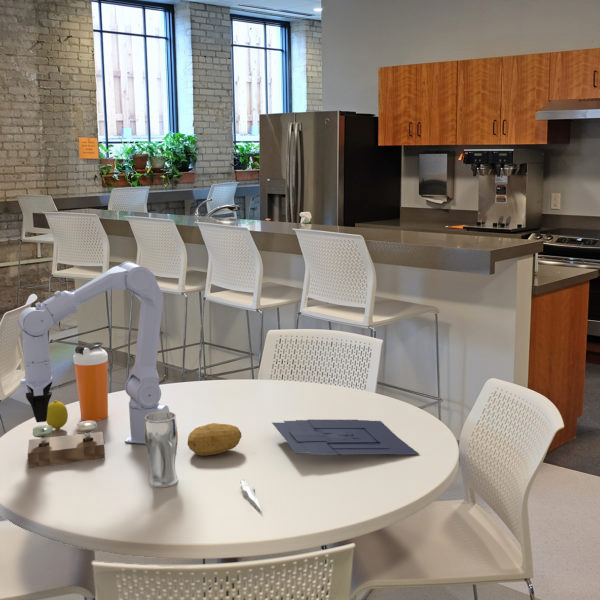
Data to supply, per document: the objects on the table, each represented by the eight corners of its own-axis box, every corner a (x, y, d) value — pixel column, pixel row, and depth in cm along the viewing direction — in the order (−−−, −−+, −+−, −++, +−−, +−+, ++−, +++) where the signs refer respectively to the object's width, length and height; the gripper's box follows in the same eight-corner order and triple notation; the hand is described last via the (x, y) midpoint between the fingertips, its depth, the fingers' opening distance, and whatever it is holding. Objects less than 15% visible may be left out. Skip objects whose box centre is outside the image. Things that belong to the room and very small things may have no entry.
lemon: (55, 435, 206) (53, 405, 204) (42, 430, 209) (39, 401, 207) (73, 429, 210) (71, 399, 208) (60, 424, 213) (57, 395, 212)
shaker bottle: (118, 414, 220) (114, 343, 216) (94, 424, 213) (89, 350, 209) (95, 409, 225) (90, 339, 221) (70, 418, 218) (65, 346, 214)
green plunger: (54, 442, 192) (52, 424, 192) (53, 448, 188) (52, 430, 187) (34, 444, 191) (33, 426, 190) (34, 451, 187) (32, 432, 186)
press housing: (103, 445, 198) (102, 431, 198) (105, 458, 190) (104, 444, 189) (30, 453, 194) (28, 439, 193) (28, 467, 185) (27, 453, 185)
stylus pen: (235, 486, 174) (235, 478, 174) (247, 484, 175) (247, 476, 175) (255, 516, 160) (254, 507, 160) (268, 514, 161) (267, 505, 161)
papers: (268, 430, 203) (269, 416, 203) (379, 430, 212) (380, 417, 212) (295, 467, 180) (297, 451, 180) (418, 465, 189) (420, 450, 189)
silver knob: (97, 437, 195) (96, 419, 194) (98, 443, 191) (96, 425, 190) (78, 439, 194) (77, 421, 193) (78, 446, 190) (77, 427, 189)
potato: (189, 446, 197) (188, 419, 195) (242, 444, 197) (241, 417, 196) (186, 461, 188) (185, 432, 186) (241, 459, 188) (240, 431, 187)
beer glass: (165, 491, 172) (161, 423, 169) (140, 484, 175) (136, 418, 172) (186, 479, 178) (183, 414, 175) (162, 472, 181) (158, 408, 178)
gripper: (20, 353, 191) (24, 408, 194) (17, 370, 178) (22, 428, 180) (51, 351, 193) (55, 405, 196) (50, 367, 180) (55, 425, 182)
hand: (41, 416), depth 188 cm, fingers open, 7 cm apart
